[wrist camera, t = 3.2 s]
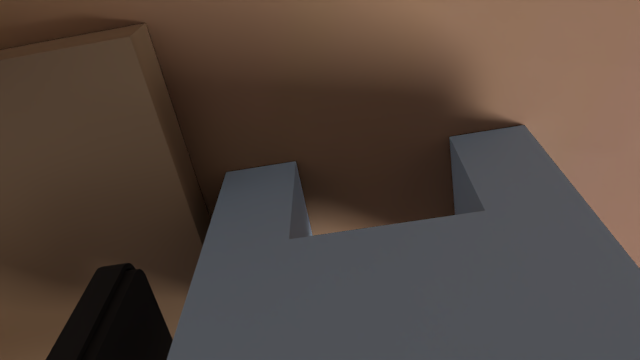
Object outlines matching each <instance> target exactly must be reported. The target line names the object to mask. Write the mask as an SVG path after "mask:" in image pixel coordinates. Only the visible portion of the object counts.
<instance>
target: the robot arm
mask: <svg viewBox="0 0 640 360" xmlns="http://www.w3.org/2000/svg"><path fill="white" fill-rule="evenodd" d="M172 341H173V339H172V337H171V334H170V332H169V329H168V327H167V325H166V322H165V320H164V318H163V315H162V313H161V310H160V308H159V306H158V303H157V301H156V298H155V296H154V294H153V291H152V289H151V287H150V284H149V282H148V279H147V277H146V275H145V273H144V271H143V270H142V269H135V267H134V266H133V265H132V264H131V263H123V264H116V265H109V266H103V267H100V268H98V269H97V270H96V271H95V273H94V275H93V277H92V279H91V280H90V282H89V284H88V286H87V287H86V289H85V291H84V293H83V294H82V296H81V298H80V300H79V302H78V303H77V305H76V307H75V309H74V310H73V312H72V314H71V316H70V317H69V319H68V321H67V323H66V325H65V326H64V328H63V330H62V332H61V333H60V335H59V337H58V339H57V340H56V342H55V344H54V346H53V347H52V349H51V351H50V353H49V355H48V356H47V358H46V360H167V357H168V354H169V351H170V347H171V344H172Z"/></svg>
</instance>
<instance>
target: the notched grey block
mask: <svg viewBox="0 0 640 360" xmlns="http://www.w3.org/2000/svg"><path fill="white" fill-rule="evenodd" d="M449 138H450V152H451V166H452V180H453V194H454V208H455V215H452V216H445V217H438V218H431V219H424V220H417V221H411V222H404V223H397V224H390V225H383V226H376V227H370V228H363V229H356V230H349V231H342V232H335V233H328V234H322V235H315V236H313V235H312V231H311V226H310V222H309V217H308V213H307V208H306V204H305V199H304V195H303V191H302V186H301V182H300V177H299V173H298V168H297V164H296V161H294V162H287V163H281V164H275V165H268V166H262V167H256V168H249V169H243V170H237V171H231V172H226V174H225V178H224V181H223V184H222V187H221V190H220V193H219V196H218V200H217V203H216V206H215V209H214V212H213V215H212V218H211V222H210V225H209V228H208V231H207V234H206V237H205V240H204V244H203V247H202V250H201V253H200V256H199V259H198V263H197V266H196V269H195V272H194V275H193V278H192V281H191V285H190V288H189V291H188V294H187V297H186V300H185V303H184V307H183V310H182V313H181V316H180V319H179V322H178V325H177V329H176V332H175V335H174V338H173V341H172V344H171V347H170V351H169V354H168V357H167V360H640V269H639V267H638V266H637V265H636V264H635V262H634V261H633V260H632V259H631V257H630V256H629V255H628V254H627V252H626V251H625V250H624V249H623V247H622V246H621V245H620V244H619V242H618V241H617V240H616V239H615V237H614V236H613V235H612V234H611V232H610V231H609V230H608V229H607V227H606V226H605V225H604V224H603V222H602V221H601V220H600V219H599V217H598V216H597V215H596V214H595V212H594V211H593V210H592V209H591V207H590V206H589V205H588V204H587V202H586V201H585V200H584V199H583V197H582V196H581V195H580V194H579V192H578V191H577V190H576V189H575V188H574V186H573V185H572V184H571V183H570V181H569V180H568V179H567V178H566V176H565V175H564V174H563V173H562V171H561V170H560V169H559V168H558V166H557V165H556V164H555V163H554V161H553V160H552V159H551V158H550V156H549V155H548V154H547V153H546V151H545V150H544V149H543V148H542V146H541V145H540V144H539V143H538V141H537V140H536V139H535V138H534V136H533V135H532V134H531V133H530V131H529V130H528V129H527V128H526V126H525V125H521V126H514V127H508V128H502V129H495V130H489V131H483V132H477V133H470V134H464V135H458V136H451V137H449Z"/></svg>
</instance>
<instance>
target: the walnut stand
mask: <svg viewBox="0 0 640 360" xmlns="http://www.w3.org/2000/svg"><path fill="white" fill-rule="evenodd" d="M210 222H211V221H210V218H209V215H208V212H207V209H206V206H205V203H204V200H203V197H202V194H201V191H200V188H199V185H198V182H197V179H196V176H195V173H194V170H193V166H192V163H191V160H190V157H189V154H188V151H187V148H186V145H185V142H184V139H183V136H182V133H181V130H180V127H179V124H178V121H177V118H176V115H175V112H174V109H173V106H172V102H171V99H170V96H169V93H168V90H167V87H166V84H165V81H164V78H163V75H162V72H161V69H160V66H159V63H158V60H157V57H156V54H155V51H154V48H153V45H152V42H151V39H150V35H149V32H148V29H147V26H146V23H143V24H137V25H132V26H127V27H121V28H116V29H111V30H105V31H100V32H94V33H89V34H84V35H78V36H73V37H67V38H62V39H57V40H51V41H46V42H40V43H35V44H30V45H24V46H19V47H13V48H8V49H3V50H0V360H46V358H47V356H48V355H49V353H50V351H51V349H52V347H53V346H54V344H55V342H56V340H57V339H58V337H59V335H60V333H61V332H62V330H63V328H64V326H65V325H66V323H67V321H68V319H69V317H70V316H71V314H72V312H73V310H74V309H75V307H76V305H77V303H78V302H79V300H80V298H81V296H82V294H83V293H84V291H85V289H86V287H87V286H88V284H89V282H90V280H91V279H92V277H93V275H94V273H95V271H96V270H97V269H98V268H100V267H103V266H109V265H116V264H123V263H131V264H132V265H133V266H134V267H135V269H142V270H143V271H144V273H145V275H146V277H147V279H148V282H149V284H150V287H151V289H152V291H153V294H154V296H155V298H156V301H157V303H158V306H159V308H160V310H161V313H162V315H163V318H164V320H165V322H166V325H167V327H168V329H169V332H170V334H171V337H172V339H173V338H174V335H175V332H176V329H177V325H178V322H179V319H180V316H181V313H182V310H183V307H184V303H185V300H186V297H187V294H188V291H189V288H190V285H191V281H192V278H193V275H194V272H195V269H196V266H197V263H198V259H199V256H200V253H201V250H202V247H203V244H204V240H205V237H206V234H207V231H208V228H209V225H210Z"/></svg>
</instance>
